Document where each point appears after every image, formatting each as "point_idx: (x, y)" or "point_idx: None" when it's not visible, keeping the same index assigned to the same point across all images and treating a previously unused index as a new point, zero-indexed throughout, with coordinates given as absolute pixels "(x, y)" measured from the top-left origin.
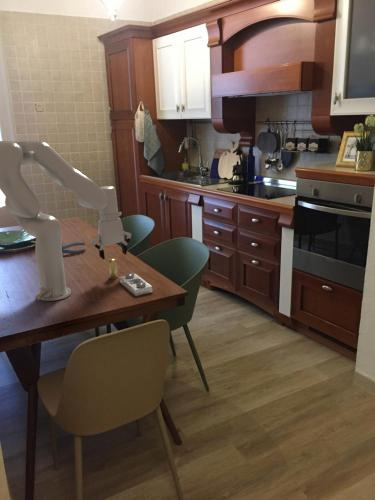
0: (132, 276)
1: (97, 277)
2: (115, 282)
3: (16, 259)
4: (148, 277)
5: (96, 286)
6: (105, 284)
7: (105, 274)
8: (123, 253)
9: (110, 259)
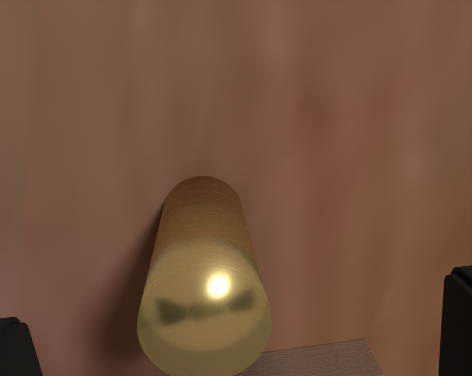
0: None
1: (40, 147)
2: None
3: None
4: None
5: None
6: (96, 353)
7: (137, 91)
8: (443, 318)
9: (175, 319)
